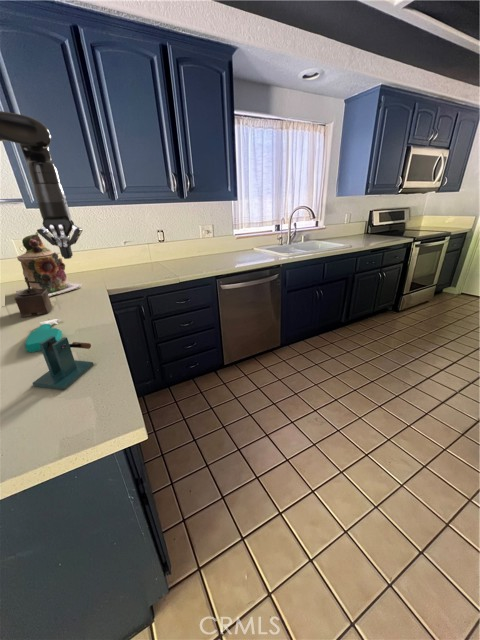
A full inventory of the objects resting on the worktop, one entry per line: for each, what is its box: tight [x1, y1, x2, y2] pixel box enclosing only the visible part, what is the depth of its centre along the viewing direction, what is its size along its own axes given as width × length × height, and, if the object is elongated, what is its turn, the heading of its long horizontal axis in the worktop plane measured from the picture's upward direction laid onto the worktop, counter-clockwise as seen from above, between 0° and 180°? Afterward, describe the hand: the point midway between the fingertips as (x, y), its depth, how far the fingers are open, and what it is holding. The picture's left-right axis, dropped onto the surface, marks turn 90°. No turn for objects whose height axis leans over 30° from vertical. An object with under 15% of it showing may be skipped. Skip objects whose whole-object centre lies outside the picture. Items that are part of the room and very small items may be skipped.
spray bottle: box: [24, 318, 63, 353], centre depth 101 cm, size 3×11×24 cm
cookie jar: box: [15, 231, 83, 298], centre depth 145 cm, size 25×25×32 cm
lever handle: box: [47, 341, 92, 351], centre depth 79 cm, size 12×6×2 cm, turn 172°
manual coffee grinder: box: [14, 274, 53, 318], centre depth 121 cm, size 16×11×18 cm
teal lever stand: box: [32, 336, 94, 391], centre depth 76 cm, size 12×10×12 cm
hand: (68, 258), depth 87 cm, fingers closed
